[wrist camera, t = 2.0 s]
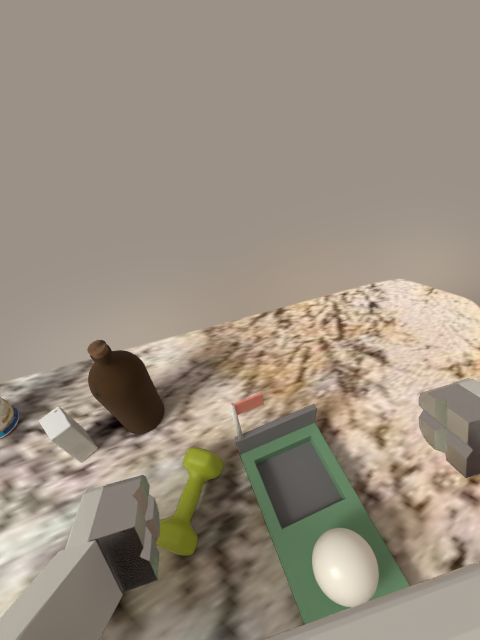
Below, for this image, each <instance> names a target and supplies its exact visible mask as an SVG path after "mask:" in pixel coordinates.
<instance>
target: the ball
mask: <svg viewBox="0 0 480 640" xmlns="http://www.w3.org/2000/svg"><path fill="white" fill-rule="evenodd" d="M312 567H313V572H314V576H315V579H316V581H317V583H318V585H319V587H320V588H321V590H322V591H323V592H324V594H325V595H326V596H327V597H328V598H330V599H331V600H332V601H334V602H335V603H337V604H339V605H342V606H345V607H354V606H357V605H360V604H363V603H365V602H367V601H369V600H370V599H371V597H372V596H373V595H374V593H375V591H376V588H377V585H378V580H379V569H378V564H377V560H376V557H375V554H374V552H373V550H372V549H371V547H370V546H369V544H368V543H367V542H366V541H365V540H364V538H362V537H361V536H360V535H359V534H357V533H356V532H354V531H352V530H349V529H346V528H333V529H330V530H328V531H326V532H324V533H323V534H322V535H321V536H320V537H319V538H318V540H317V542H316V544H315V546H314V549H313V553H312Z"/></svg>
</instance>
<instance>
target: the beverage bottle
mask: <svg viewBox="0 0 480 640" xmlns="http://www.w3.org/2000/svg"><path fill="white" fill-rule="evenodd" d="M18 420H19V412H18V410H17V409H16V408H14V407H13V406H12V405H10V404H9V403H8V402H6V401H5V400H4V399H3V398H1V397H0V438H2V437H4V436H6V435H7V434H9V433H10V432H11V431H12V430H13V429H14V428H15V426H16V425H17V423H18Z"/></svg>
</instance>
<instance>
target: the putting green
mask: <svg viewBox="0 0 480 640" xmlns="http://www.w3.org/2000/svg"><path fill="white" fill-rule="evenodd" d="M263 404H264V402H263V394H262V393H260V394H257V395H255V396H252V397H250V398H247V399H245V400H242V401H240V402H237V403H235V404H234V403H231V404H230V409H231V413H232V416H233V420H234V424H235V427H236V431H237V434H238V436H237V437H235V440H236V443H237V447H238V450H239V453H240V456H241V459H242V462H243V464H244V467H245V470H246V472H247V475H248V477H249V480H250V483H251V485H252V488H253V491H254V493H255V496H256V498H257V501H258V504H259V506H260V509H261V512H262V514H263V517H264V520H265V522H266V525H267V527H268V530H269V533H270V535H271V538H272V541H273V543H274V546H275V548H276V551H277V554H278V556H279V559H280V562H281V564H282V567H283V570H284V572H285V575H286V577H287V580H288V583H289V585H290V588H291V591H292V593H293V596H294V598H295V601H296V604H297V606H298V609H299V612H300V614H301V617H302V619H303V622H304V624H307V623H310V622H313V621H315V620H318V619H321V618H324V617H327V616H329V615H332V614H335V613H338V612H340V611H343V610H346V609H349V608H351V607H345V606H342V605H339V604H337V603H335V602H334V601H332V600H331V599H330V598H328V597H327V596H326V595H325V594H324V592H323V591H322V590H321V588H320V587H319V585H318V583H317V581H316V579H315V576H314V572H313V567H312V553H313V549H314V546H315V544H316V542H317V540H318V538H319V537H320V536H321V535H322V534H323V533H324V532H326V531H328V530H330V529H333V528H346V529H349V530H352V531H354V532H356V533H357V534H359V535H360V536H361V537H362V538H364V540H365V541H366V542H367V543H368V544H369V546H370V547H371V549H372V550H373V552H374V554H375V557H376V560H377V564H378V569H379V580H378V585H377V588H376V591H375V593H374V595H373V596H372V597H371V599H370V600H369V601H371V600H374V599H376V598H379V597H382V596H385V595H387V594H390V593H393V592H396V591H398V590H401V589H404V588H407V587H409V584H408V582H407V581H406V579H405V577H404V575H403V574H402V572H401V570H400V569H399V567H398V565H397V563H396V562H395V560H394V558H393V556H392V555H391V553H390V551H389V550H388V548H387V546H386V544H385V543H384V541H383V539H382V537H381V536H380V534H379V532H378V531H377V529H376V527H375V525H374V524H373V522H372V520H371V519H370V517H369V515H368V513H367V512H366V510H365V508H364V506H363V505H362V503H361V501H360V500H359V498H358V496H357V494H356V493H355V491H354V489H353V487H352V486H351V484H350V482H349V481H348V479H347V477H346V475H345V474H344V472H343V470H342V469H341V467H340V465H339V463H338V462H337V460H336V458H335V456H334V455H333V453H332V451H331V450H330V448H329V446H328V444H327V443H326V441H325V439H324V437H323V436H322V434H321V432H320V431H319V429H318V427H317V425H316V424H315V418H316V410H317V408H316V406H315V405H314V404H313V405H310V406H308V407H306V408H303V409H301V410H298V411H296V412H294V413H291V414H289V415H287V416H284V417H282V418H279V419H277V420H275V421H272V422H270V423H267V424H265V425H263V426H260V427H258V428H256V429H253V430H251V431H248V432H246V433H244V434H242V431H241V427H240V424H239V420H238V416H237V415H239V414H241V413H243V412H246V411H248V410H251V409H253V408H256V407H258V406H261V405H263ZM367 602H368V601H367Z"/></svg>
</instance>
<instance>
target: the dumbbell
mask: <svg viewBox="0 0 480 640" xmlns="http://www.w3.org/2000/svg"><path fill="white" fill-rule="evenodd" d="M183 466H184V467H185V468H186V469H187V470H188V471H189V480H188V482H187V484H186V486H185V488H184V491H183V493H182V495H181V498H180V501H179V504H178V507H177V510H176V512H175V514H174V515H173V516H172V517H170V518H168V519H163V520H160V536H159V538H158V540H157V541H156V544H157V545H159V546H160V547H162V548H164V549H166V550H168V551H170V552H172V553H175V554H178V555H191V554H193V552H194V551H195V548H196V545H197V541H198V537H197V534H196V533H195V531H194V530H193V529H192V527H191V525H190V521H191V517H192V515H193V513H194V510H195V508H196V505H197V502H198V500H199V497H200V494H201V491H202V487H203V484H204V483H205V481H207V480H209V479H214V478H216V477H218V476H219V475H220V474H221V472H222V469H223V466H224V463H223V461H222V460H221V459H220V458H219V457H218V456H216V455H215V454H214V453H212V452H210V451H208V450H205V449H202V448H197V447H194V448H191V449H189V450H188V451H187V452H186V454H185V457H184V459H183Z"/></svg>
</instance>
